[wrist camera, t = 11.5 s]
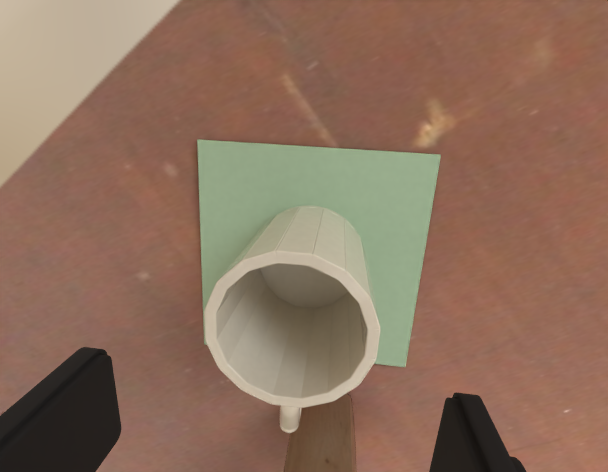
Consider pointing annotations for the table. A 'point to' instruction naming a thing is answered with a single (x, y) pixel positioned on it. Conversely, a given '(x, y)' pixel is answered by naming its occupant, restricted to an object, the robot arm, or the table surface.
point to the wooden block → (323, 439)
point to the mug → (296, 313)
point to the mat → (334, 196)
